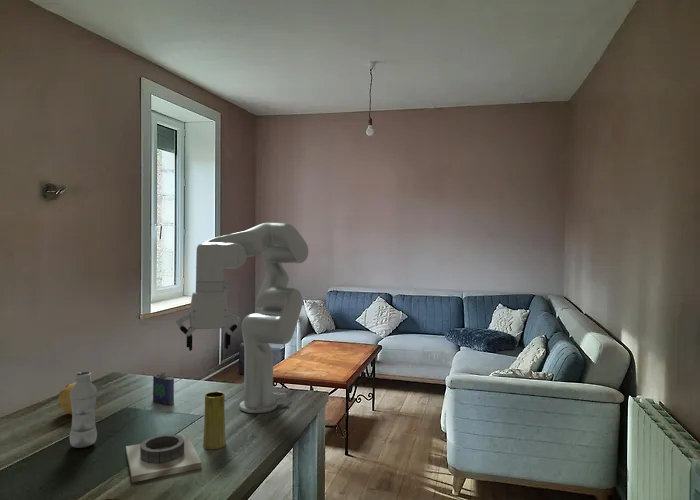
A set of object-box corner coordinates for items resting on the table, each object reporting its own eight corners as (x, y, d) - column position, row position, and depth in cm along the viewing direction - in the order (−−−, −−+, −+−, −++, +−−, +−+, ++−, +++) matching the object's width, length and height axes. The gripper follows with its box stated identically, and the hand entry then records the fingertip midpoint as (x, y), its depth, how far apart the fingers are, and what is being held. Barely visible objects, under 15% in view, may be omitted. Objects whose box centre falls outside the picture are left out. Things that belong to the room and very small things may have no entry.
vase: (219, 450, 135) (219, 398, 134) (198, 448, 136) (199, 396, 136) (229, 441, 141) (229, 391, 140) (209, 439, 142) (209, 389, 142)
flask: (175, 403, 170) (175, 372, 169) (168, 406, 167) (168, 375, 167) (157, 399, 174) (156, 368, 174) (150, 401, 172) (149, 370, 171)
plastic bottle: (76, 440, 140) (75, 370, 139) (101, 440, 140) (100, 370, 139) (64, 451, 133) (64, 377, 132) (91, 450, 134) (90, 376, 133)
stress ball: (97, 413, 163) (89, 388, 168) (96, 397, 156) (88, 371, 162) (62, 425, 157) (55, 398, 162) (60, 408, 151) (53, 382, 156)
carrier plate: (188, 440, 141) (188, 425, 141) (201, 468, 125) (201, 450, 125) (126, 451, 133) (126, 435, 133) (131, 482, 118) (131, 463, 117)
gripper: (239, 286, 146) (238, 344, 146) (176, 286, 140) (175, 347, 140) (243, 288, 139) (241, 350, 139) (177, 289, 133) (175, 353, 133)
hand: (208, 348), depth 139 cm, fingers open, 9 cm apart
